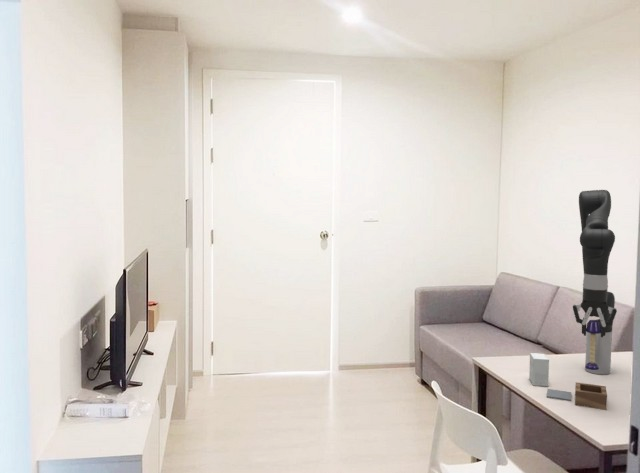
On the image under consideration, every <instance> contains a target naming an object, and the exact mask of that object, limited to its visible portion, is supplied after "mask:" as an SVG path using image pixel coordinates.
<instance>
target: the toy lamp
mask: <svg viewBox="0 0 640 473" xmlns="http://www.w3.org/2000/svg"><path fill="white" fill-rule="evenodd" d="M597 320H598V319H588V321H587V323H588V325H587V324H586V333H587V332H588V333H590V336H591V337H590V340H591V341H590V362H589V363H587V364H586V365H585V364H584V365H585V366H584V369H585V368H586V369H590V370H598V369H599V367H598V365H597V364H595V344H596V343H595V340H596V338H595V336H596V334H599V333H601V329H600V325H599V322H598V321H597Z"/></svg>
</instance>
